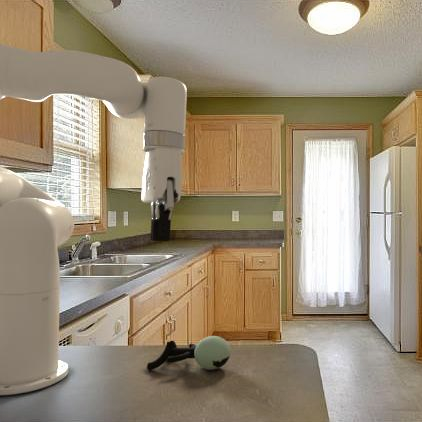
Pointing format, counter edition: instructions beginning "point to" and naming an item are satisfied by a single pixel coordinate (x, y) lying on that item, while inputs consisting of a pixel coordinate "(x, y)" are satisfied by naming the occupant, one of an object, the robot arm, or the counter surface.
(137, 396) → the counter surface
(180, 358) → the toy
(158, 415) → the counter surface
